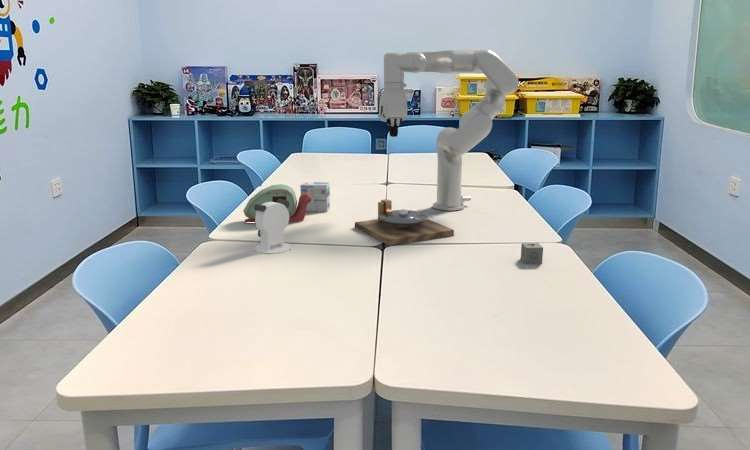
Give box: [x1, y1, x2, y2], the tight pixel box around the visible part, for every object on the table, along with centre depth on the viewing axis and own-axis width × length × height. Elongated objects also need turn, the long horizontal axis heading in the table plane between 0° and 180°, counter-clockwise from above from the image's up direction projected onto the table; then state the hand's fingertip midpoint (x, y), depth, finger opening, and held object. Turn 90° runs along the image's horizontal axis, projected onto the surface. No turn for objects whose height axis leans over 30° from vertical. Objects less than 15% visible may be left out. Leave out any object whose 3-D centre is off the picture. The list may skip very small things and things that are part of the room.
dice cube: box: [520, 242, 544, 265], centre depth 192 cm, size 5×5×5 cm
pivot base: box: [354, 201, 455, 247], centre depth 223 cm, size 25×25×9 cm
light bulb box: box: [299, 181, 331, 213], centre depth 254 cm, size 11×7×11 cm, turn 84°
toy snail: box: [242, 183, 312, 223], centre depth 237 cm, size 25×8×14 cm, turn 97°
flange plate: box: [380, 198, 428, 225], centre depth 223 cm, size 18×16×5 cm
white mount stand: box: [254, 199, 292, 254], centre depth 204 cm, size 12×11×15 cm
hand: (393, 136), depth 246 cm, fingers closed
